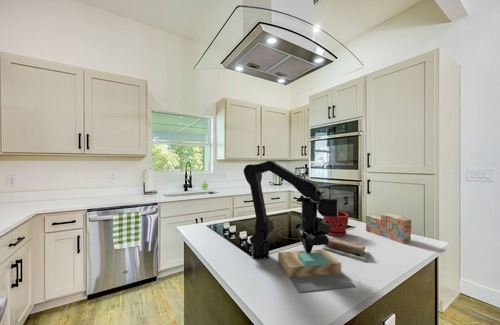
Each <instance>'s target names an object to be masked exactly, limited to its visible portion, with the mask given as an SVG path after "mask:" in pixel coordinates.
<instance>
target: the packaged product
mask: <svg viewBox="0 0 500 325" xmlns="http://www.w3.org/2000/svg"><path fill="white" fill-rule="evenodd" d="M328 238H329V244H328V245H323V247H322V249H324V250H325V251H326V252H331V253H334V254H337V255H339V256H343V257H347V258H350V259H353V260H356V261H361V262H366V261H367V259H369V257H370V256H371V252H369V251H366V250H365V249H366V246H364V245H361V244H358V243H354V242H350V241H346V240H342V239H339V238H335V237H333V236H332V237H328Z"/></svg>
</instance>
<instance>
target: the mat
mask: <svg viewBox="0 0 500 325" xmlns="http://www.w3.org/2000/svg"><path fill="white" fill-rule="evenodd" d="M288 279H289V280H290V282H291V283H292V285H293V286H294V288H295V289H296V290H297V293H299V294H301V293H310V292H311V293H312V292H320V291H327V290H328V291H329V290H336V289H337V290H338V289H349V288H355V287H356V284H354V283H353V282H352V281H351V280H350V279H349V278H347V277H346V276H345V275H344V274H342V272H341V273H336V274H325V275H315V276H304V277H293V278H289V277H288Z"/></svg>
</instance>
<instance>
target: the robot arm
mask: <svg viewBox="0 0 500 325" xmlns="http://www.w3.org/2000/svg"><path fill="white" fill-rule="evenodd" d="M266 172H271V173H273V174H274V175H276V176H278V178H281V179H282V180H284V181H286V182H288V183H289V184H291V185H292V186H293V187H294V188H295V189H296V190H297V191H298V192H299V193H300V194H301V195H300V196H299V198H298V199H296V202H298V203H301V214H299V219H301V221H294V222H293V223H292V224H291V225H292V226H291V227H292V228H291V229H292V230H293V231H297V229H299V233H297V235H298V237H299V239H300V241H301V244H302V245H303V246H302V247H303V249H304V251H306V253H311V250H313V248H314V246H325V245H328V244H329V237H328V236H327V235H326V234H327V233H328V235H329V232H330V229H331V225H329V224H327V223H325V222H324V220H323V218H322V217H323V216H327V217H334V218H338V211H339V199H338V198H328V197H325V196H323V194H322V192H321V191H320V190H319V185H318V183H317V182H316V181H314V180H311V179H308V178H305V177H301V176H299V175H297V174H296V173H294V172H293V171H290V170H288V169H286V168H285V167H283V166H282V165H281V164H278V163H277V162H276V161H274V160H266V161H264V162H261V163H254V164H253V163H252V164H247V165H245V166H244V168H243V175H244V177H245V180H246V182H247V183H248V185H249V186H250V187H249V188H250V192H251V197H252V198H251V199H252V203H253V209H254V214H255V224H254V233H253V235H251V236H250V237H249V241H250V244H251V251H250V253H251V256H252V259H253V260H261V259H269V254H270V253H269V252H270V245H269V242H268V240H269V239H270V237H271V236H272V235H273V234H274V229H275V225H274V223H273V222H274V220H273V219H269V217H268V214H267V211H266V210H267V209H266V205H265V204H266V203H265V199H264V194H263V189H262V188H263V187H262V179H263V174H264V173H266ZM318 213H319V215H320V216H321V217H318ZM323 232H325V233H326V234H324V233H323Z"/></svg>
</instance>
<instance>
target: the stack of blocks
mask: <svg viewBox="0 0 500 325" xmlns="http://www.w3.org/2000/svg"><path fill="white" fill-rule="evenodd" d="M365 231H366V232H369V233H372V234H375V235H377V236H380V237H383V238H385V239H389V240H391V241H393V242H394V241H395V242H396V243H397V242H398V243H400V244H402V245H405V244H409V243H411V239H412V238H411V235H412V219H411V218H407V217H404V216H402V215H401V216H400V215H396V214H392V213H388V212H387V213H382V214H381V215H380V216H379V215H377V214H376V215H375V214H370V215H365Z"/></svg>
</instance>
